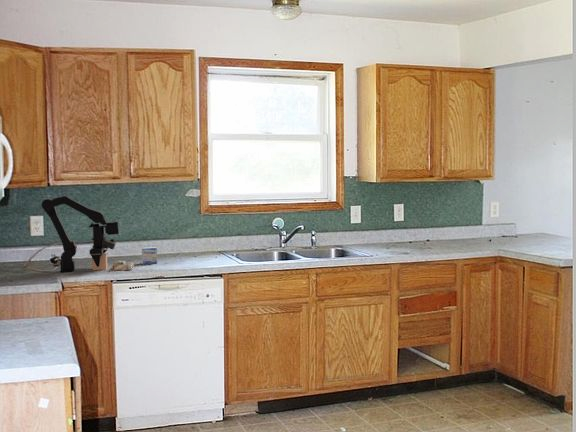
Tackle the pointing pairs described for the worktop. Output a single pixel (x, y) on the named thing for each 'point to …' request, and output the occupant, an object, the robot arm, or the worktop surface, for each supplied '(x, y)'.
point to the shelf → (122, 267)
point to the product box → (102, 263)
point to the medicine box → (149, 255)
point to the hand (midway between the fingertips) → (99, 265)
